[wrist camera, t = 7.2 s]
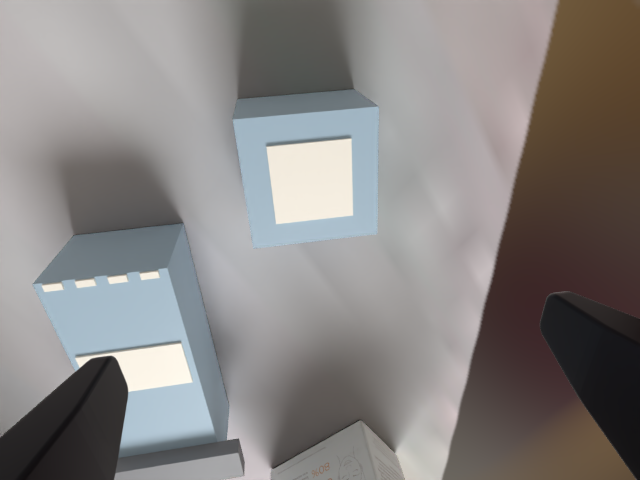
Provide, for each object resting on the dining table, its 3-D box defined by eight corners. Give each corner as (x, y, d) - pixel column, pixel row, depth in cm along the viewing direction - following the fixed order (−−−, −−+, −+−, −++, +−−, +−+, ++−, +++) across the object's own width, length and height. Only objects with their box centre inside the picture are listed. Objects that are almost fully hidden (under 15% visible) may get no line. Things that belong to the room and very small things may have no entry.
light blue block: (253, 207, 19) (253, 249, 16) (237, 99, 17) (232, 120, 13) (356, 196, 20) (378, 235, 16) (354, 89, 17) (379, 107, 14)
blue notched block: (129, 421, 25) (104, 502, 21) (48, 238, 19) (-11, 300, 15) (246, 403, 26) (244, 478, 22) (206, 220, 19) (193, 275, 15)
